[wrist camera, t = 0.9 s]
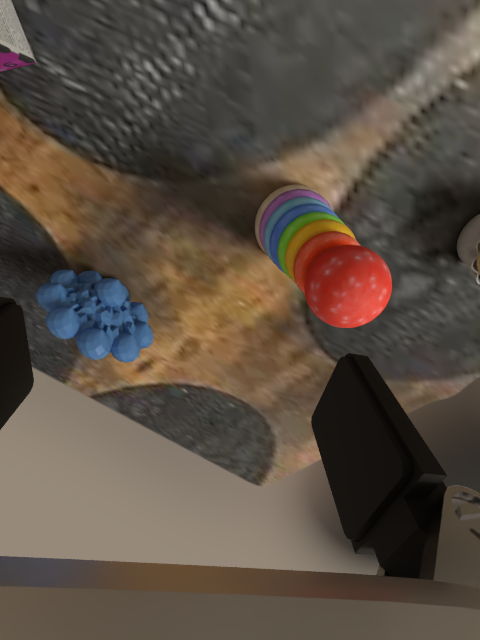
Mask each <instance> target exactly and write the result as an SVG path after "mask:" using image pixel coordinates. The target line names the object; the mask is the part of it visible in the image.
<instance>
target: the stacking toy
mask: <svg viewBox="0 0 480 640" xmlns="http://www.w3.org/2000/svg"><path fill="white" fill-rule="evenodd" d="M255 235H256V239H257V242H258V244H259V246H260V247H261V249H262V250H263V251H264V253H266V254H267V255H268V256H269V257H270V259H271V260H272V261H273V263H275V264H276V266H277V267H278V268H279V269H280V270H281V271H283V272H284V273H285V274H286V275H287V276H288V277H290V278H291V279H292V280H293V281H294V282H295V283H297V285H298V287H299V288H300V290H301V291H302V292H303V293H304V294H305V297H306V300H307V303H308V305H309V307H310V309H311V310H312V311H313V313H314V314H315V315H316V316H317V317H318V318H319V319H321V320H322V321H324V322H325V323H328V324H330V325H332V326H335V327H341V328H352V327H357V326H361V325H364V324H366V323H368V322H370V321H371V320H373V319H374V318H376V317H377V316H378V315H379V314H380V313H381V312H382V311H383V309H384V308H385V306H386V305H387V303H388V301H389V299H390V295H391V291H392V280H391V275H390V271H389V269H388V267H387V265H386V263H385V262H384V261H383V259H382V258H381V257H380V256H379V255H377V254H376V253H375V252H373V251H372V250H370V249H368V248H366V247H362V246H360V244H359V243H358V242H357V241H356V239H355V237H354V235H353V233H352V232H351V230H350V229H349V228H348V227H347V226H346V225H345V224H344V223H343V222H342V221H341V220H340V219H339V218H338V217H337V215H336V214H335V213H334V212H333V211H332V209H331V207H330V205H329V203H328V202H327V201H326V200H325V199H324V198H323V197H322V196H321V195H320V194H319V193H318V192H316V191H315V190H313V189H312V188H310V187H307V186H304V185H287V186H284V187H281V188H279V189H277V190H275V191H274V192H272V193H271V194H270V195H269V196H268V197H267V198H266V199H265V200H264V201H263V203H262V204H261V206H260V208H259V210H258V212H257V216H256V219H255Z"/></svg>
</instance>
